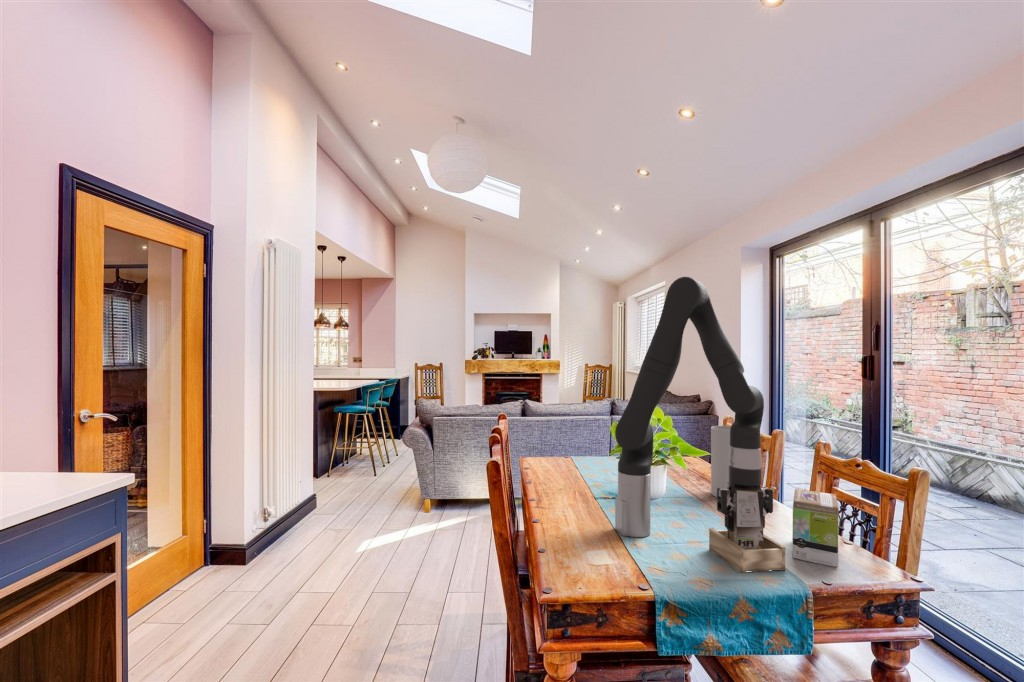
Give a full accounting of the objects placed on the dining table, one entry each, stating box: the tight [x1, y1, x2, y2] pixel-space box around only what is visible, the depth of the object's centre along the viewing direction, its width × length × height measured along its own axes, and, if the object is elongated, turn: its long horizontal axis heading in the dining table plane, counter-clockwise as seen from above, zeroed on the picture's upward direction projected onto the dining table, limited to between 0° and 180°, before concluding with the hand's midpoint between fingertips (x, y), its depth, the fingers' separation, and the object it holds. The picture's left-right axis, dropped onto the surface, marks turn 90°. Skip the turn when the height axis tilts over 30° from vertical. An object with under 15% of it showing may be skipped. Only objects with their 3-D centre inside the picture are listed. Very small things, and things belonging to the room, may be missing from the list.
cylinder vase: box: [710, 425, 731, 498], centre depth 176 cm, size 12×12×25 cm
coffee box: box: [727, 482, 764, 550], centre depth 121 cm, size 9×6×16 cm
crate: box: [708, 527, 787, 573], centre depth 121 cm, size 12×14×6 cm
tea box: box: [791, 488, 840, 568], centre depth 125 cm, size 15×10×15 cm, turn 148°
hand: (744, 529), depth 121 cm, fingers closed on coffee box, 7 cm apart
